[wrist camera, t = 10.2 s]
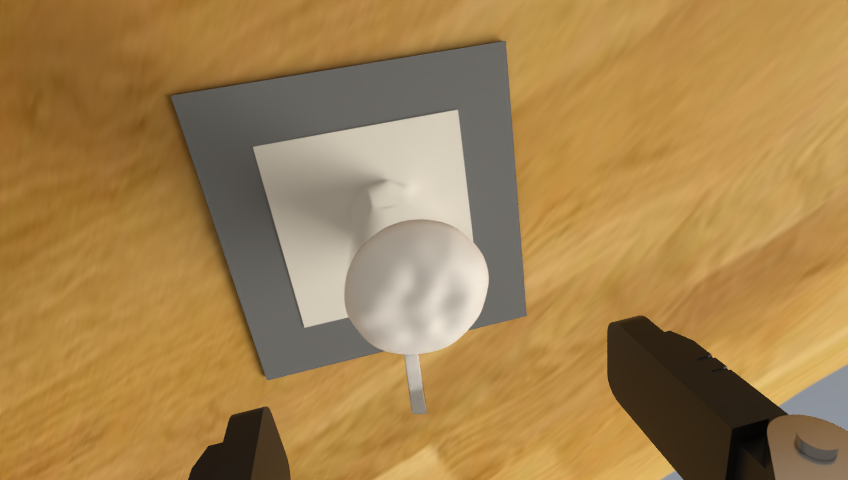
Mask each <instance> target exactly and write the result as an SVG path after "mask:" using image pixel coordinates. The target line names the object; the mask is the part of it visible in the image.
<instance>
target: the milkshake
mask: <svg viewBox="0 0 848 480" xmlns="http://www.w3.org/2000/svg"><path fill="white" fill-rule="evenodd" d="M488 284H489V275H488V268H487V264H486V261H485V259H484V256H483V255H482V253H481V251H480V250H479V248H478V247H477V246H476V245H475V244H474V243H473V242H472V241H471V240H470V239H469V238H468V237H467V236H466V235H465V234H463V233H462V232H461V231H460V230H458V229H457V228H456V227H454V226H453V225H452V224H450V223H449V222H448V221H446V220H445V219H444V218H442V217H441V216H440V215H439V214H437V213H436V212H435V211H434V210H433V209H432V208H431V207H430V206H429V205H427V204H426V203H425V202H424V201H423V200H422V199H421V198H419V197H418V196H417V195H416V194H415V193H414V192H413V191H411V190H410V189H409V188H407V187H404V186H402V185H399V184H397V183H394V182H392V181H389V180H387V181H383V182H379V183H375V184H370V185H367V186H366V187H365V188H364V189H363V190H362V191H361V192H360V194H359V195H358V196H357V197H356V198H355V199H354V200H353V202H352V208H351V222H350V248H349V254H348V262H347V270H346V280H345V290H344V300H345V308H346V312H347V314H348V317H349V319H350V320H351V322H352V324H353V325H354V326H355V328H356V329H357V330H358V331H359V333H360V334H361V335H362V336H363V337H364V338H365V339H366V340H367V341H368V342H369V343H370V344H372V345H373V346H375V347H376V348H379V349H381V350H384V351H387V352H391V353H397V354H404V357H405V365H406V372H407V380H408V387H409V395H410V402H411V409H412V413H413V414H425V413H427V407H426V400H425V394H424V387H423V381H422V374H421V368H420V362H419V355H418V354H423V353H429V352H433V351H437V350H440V349H443V348H445V347H447V346H449V345H451V344H452V343H454V342H455V341H457V340H458V339H459V338H460V337H461V336H462V335H463V334H464V333H466V332H467V331H468V329H469V328H470V327H471V326H472V325H473V324H474V322H475V321H476V320H477V318H478V317H479V315H480V313H481V311H482V308H483V305H484V302H485V298H486V294H487V290H488Z"/></svg>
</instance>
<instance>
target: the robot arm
mask: <svg viewBox="0 0 848 480" xmlns="http://www.w3.org/2000/svg"><path fill="white" fill-rule="evenodd" d="M607 374H608V381H609V385H610V388H611V390H612V393H613V395H614V396H615V398H616V400H617V401H618V402H619V404H620V405H621V406H622V407H623V408H624V410H625V411H626V412H627V413H628V414H629V415H630V417H631V418H632V419H633V420H634V421H635V423H636V424H637V425H638V426H639V427H640V429H641V430H642V431H643V432H644V433H645V435H646V436H647V437H648V438H649V439H650V440H651V442H652V443H653V444H654V445H655V446H656V448H657V449H658V450H659V451H660V452H661V454H662V455H663V456H664V457H665V458H666V459H667V461H668V462H669V463H670V464H671V465H672V467H673V468H674V469H675V470H676V471H677V473H678V474H679V475H680V476H681V477H682V478H683V480H848V431H846V430H844V429H843V428H841V427H839V426H837V425H835V424H833V423H830V422H828V421H825V420H822V419H819V418H816V417H811V416H806V415H788V414H787V413H786V412H784V411H783V410H782V409H781V408H779V407H778V406H777V405H776V404H774V403H773V402H772V401H770V400H769V399H768V398H767V397H765V396H764V395H763V394H761V393H760V392H759V391H758V390H756V389H755V388H754V387H752V386H751V385H750V384H749V383H747V382H746V381H745V380H743V379H742V378H741V377H740V376H738V375H737V374H736V373H734V372H733V371H732V370H728V369H727V366H725V365H724V364H723V363H722V362H720V361H719V360H718V359H716V358H713V357H712V355H711V354H710V353H709V352H707V351H706V350H705V349H704V348H702V347H701V346H700V345H698V344H697V343H696V342H694V341H693V340H691V339H688V338H686V337H684V336H681V335H679V334H677V333H674V332H672V331H667V332H663V331H662V330H661V329H660V328H659V327H657V326H656V325H655V324H654V323H653V322H651V321H650V320H649V319H648V318H646V317H644V316H636V317H632V318H628V319H624V320H620V321H616V322H612V323H610V324H609V326H608V332H607ZM188 480H291V479H290V469H289V464H288V459H287V456H286V453H285V450H284V447H283V444H282V442H281V439H280V436H279V433H278V430H277V427H276V425H275V422H274V419H273V416H272V413H271V411H270V409H269V408H268V407H262V408H258V409H254V410H250V411H246V412H242V413H238V414H234V415H232V416H231V417H230V419H229V422H228V426H227V429H226V433H225V437H224V441H223V442H222V443H218V444H214V445H211V446H208V447H207V449H206V450H205V451H204V453H203V454H202V455H201V457H200V458H199V460H198V461H197V462H196V464H195V465H194V466H193V468H192V470H191V473H190V476H189V479H188Z"/></svg>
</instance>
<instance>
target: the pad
mask: <svg viewBox="0 0 848 480" xmlns="http://www.w3.org/2000/svg"><path fill="white" fill-rule="evenodd" d="M171 98H172V101H173V104H174V107H175V110H176V113H177V116H178V119H179V122H180V125H181V128H182V131H183V134H184V137H185V140H186V143H187V146H188V149H189V152H190V154H191V157H192V160H193V163H194V166H195V169H196V172H197V175H198V178H199V181H200V184H201V187H202V190H203V193H204V196H205V199H206V202H207V205H208V208H209V211H210V214H211V217H212V219H213V222H214V225H215V228H216V231H217V234H218V237H219V240H220V243H221V246H222V249H223V252H224V255H225V258H226V261H227V264H228V267H229V270H230V273H231V276H232V279H233V282H234V284H235V287H236V290H237V293H238V296H239V299H240V302H241V305H242V308H243V311H244V314H245V317H246V320H247V323H248V326H249V329H250V332H251V335H252V338H253V341H254V344H255V347H256V349H257V352H258V355H259V358H260V361H261V364H262V367H263V370H264V373H265V376H266V379H267V380H271V379H275V378H279V377H283V376H287V375H291V374H295V373H299V372H303V371H307V370H311V369H315V368H319V367H323V366H327V365H331V364H335V363H339V362H343V361H347V360H351V359H355V358H359V357H363V356H367V355H371V354H375V353H379V352H383V351H384V350H381V349H379V348H376V347H375V346H373V345H372V344H370V343H369V342H368V341H367V340H366V339H365V338H364V337H363V336H362V335H361V334H360V333H359V331H358V330H357V329H356V328H355V326H354V325H353V324H352V322H351V320H350V319H349V317H348V314H347V312H346V308H345V300H344V290H345V280H346V270H347V262H348V254H349V248H350V222H351V208H352V202H353V200H354V199H355V198H356V197H357V196H358V195H359V194H360V192H361V191H362V190H363V189H364V188H365V187H366V186H367V185H370V184H375V183H379V182H383V181H387V180H389V181H392V182H394V183H397V184H399V185H402V186H404V187H407V188H409V189H410V190H411V191H413V192H414V193H415V194H416V195H417V196H418V197H419V198H421V199H422V200H423V201H424V202H425V203H426V204H427V205H429V206H430V207H431V208H432V209H433V210H434V211H435V212H436V213H437V214H439V215H440V216H441V217H442V218H444V219H445V220H446V221H448V222H449V223H450V224H452V225H453V226H454V227H456V228H457V229H458V230H460V231H461V232H462V233H463V234H465V235H466V236H467V237H468V238H469V239H470V240H471V241H472V242H473V243H474V244H475V245H476V246H477V247H478V248H479V250H480V251H481V253H482V255H483V256H484V259H485V261H486V264H487V268H488V275H489V284H488V290H487V294H486V298H485V302H484V305H483V308H482V311H481V313H480V315H479V317H478V318H477V320H476V321H475V322H474V324H473V325H472V326H471V327H470V328H469V329H468V330H472V329H476V328H480V327H484V326H488V325H492V324H496V323H500V322H504V321H508V320H512V319H516V318H520V317H524V316H527V315H526V302H525V289H524V275H523V262H522V249H521V236H520V223H519V210H518V196H517V183H516V170H515V157H514V144H513V131H512V117H511V104H510V91H509V78H508V65H507V52H506V41H501V42H495V43H489V44H483V45H477V46H471V47H465V48H459V49H453V50H446V51H440V52H434V53H428V54H422V55H416V56H410V57H404V58H398V59H391V60H385V61H379V62H373V63H367V64H361V65H355V66H349V67H343V68H336V69H330V70H324V71H318V72H312V73H306V74H300V75H294V76H288V77H281V78H275V79H269V80H263V81H257V82H251V83H245V84H239V85H233V86H226V87H220V88H214V89H208V90H202V91H196V92H190V93H184V94H178V95H172V96H171Z"/></svg>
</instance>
